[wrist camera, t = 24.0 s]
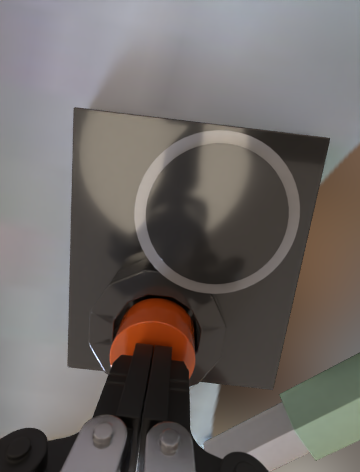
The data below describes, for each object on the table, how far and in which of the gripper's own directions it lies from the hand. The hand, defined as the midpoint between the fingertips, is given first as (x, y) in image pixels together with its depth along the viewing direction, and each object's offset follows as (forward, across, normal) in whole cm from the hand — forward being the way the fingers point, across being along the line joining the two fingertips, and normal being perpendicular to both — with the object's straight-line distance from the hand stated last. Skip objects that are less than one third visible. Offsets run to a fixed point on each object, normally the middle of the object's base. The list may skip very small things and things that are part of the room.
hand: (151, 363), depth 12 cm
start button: (+2, 0, 0) cm, 2 cm away
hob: (+5, -1, -3) cm, 6 cm away
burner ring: (+2, -2, -6) cm, 7 cm away
